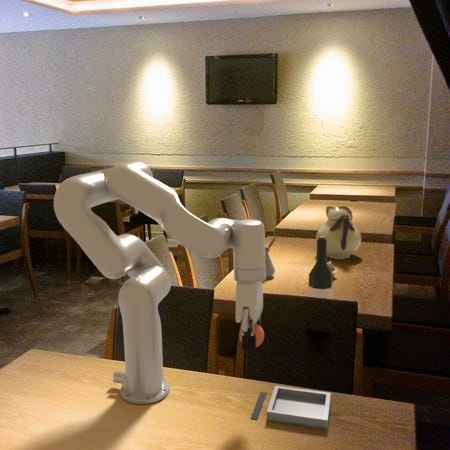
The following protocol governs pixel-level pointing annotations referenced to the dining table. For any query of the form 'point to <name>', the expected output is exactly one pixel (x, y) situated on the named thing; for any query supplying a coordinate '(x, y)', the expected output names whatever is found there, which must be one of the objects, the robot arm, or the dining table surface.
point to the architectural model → (331, 268)
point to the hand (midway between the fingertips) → (252, 343)
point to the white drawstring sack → (340, 233)
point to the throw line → (258, 405)
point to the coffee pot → (269, 261)
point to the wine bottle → (321, 273)
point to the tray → (299, 407)
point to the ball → (257, 331)
